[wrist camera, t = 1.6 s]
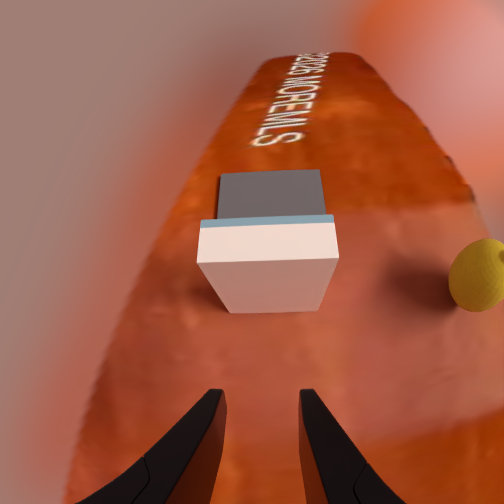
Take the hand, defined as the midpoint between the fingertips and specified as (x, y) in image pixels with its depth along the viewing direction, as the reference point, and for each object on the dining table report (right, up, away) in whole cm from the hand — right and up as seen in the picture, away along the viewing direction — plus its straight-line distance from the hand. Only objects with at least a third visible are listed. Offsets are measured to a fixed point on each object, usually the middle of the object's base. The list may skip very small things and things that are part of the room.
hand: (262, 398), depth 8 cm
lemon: (+19, +1, +14) cm, 23 cm away
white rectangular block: (+1, +1, +16) cm, 16 cm away
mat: (+2, +8, +19) cm, 20 cm away
